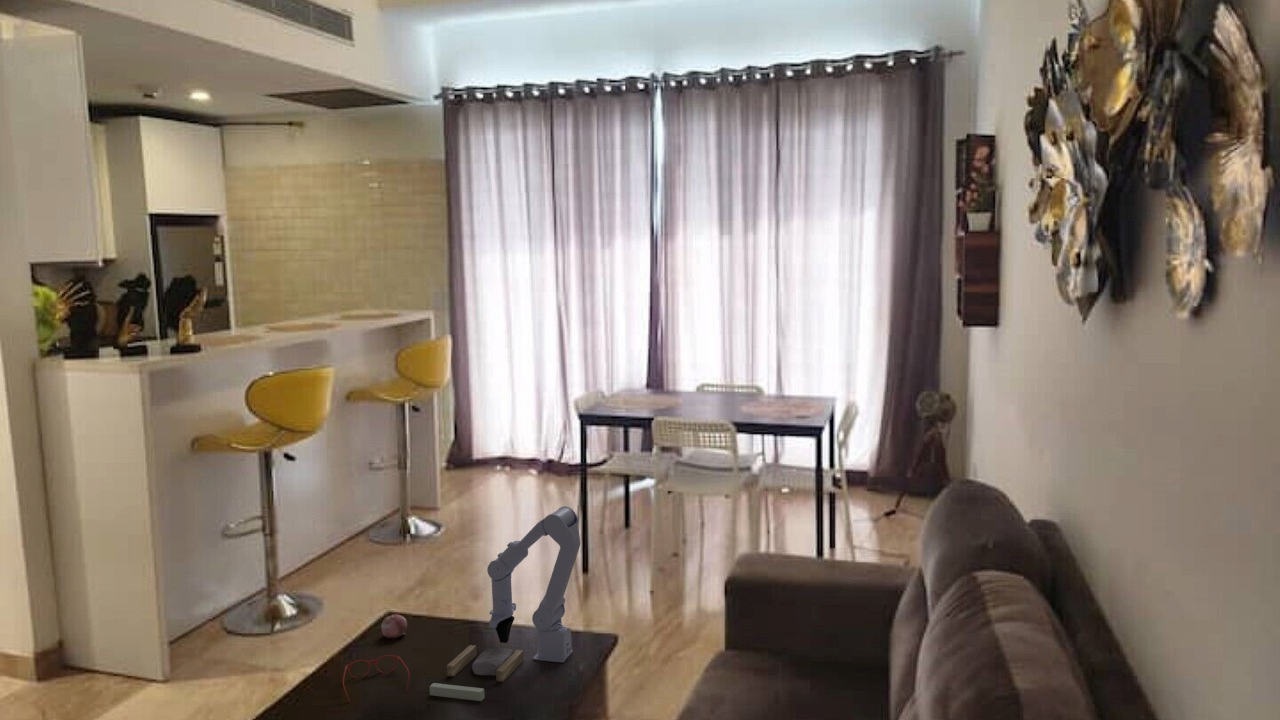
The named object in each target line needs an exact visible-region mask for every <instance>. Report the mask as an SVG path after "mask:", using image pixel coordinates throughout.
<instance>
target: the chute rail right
mask: <svg viewBox="0 0 1280 720" xmlns="http://www.w3.org/2000/svg"><path fill="white" fill-rule="evenodd" d="M524 658H525V656H524V650H523V649H516V650H514V653H513V654H512V655H511V656H510V657H509V658H508V659H507V660H506V661H505V662H504V663H503V664H502V665H501V666H500V667H499V668H498V669H497V670H496V675H495V678H496V682H500V683H501V682H502V683H504V682H505V681H506V680H507V679H508V677H509V676H510V675H511V674H512V673H513V672H514V671H515V670H516V669H517V668H518V667H519V666H520V665H521V664H522V663H523V662H524V660H525V659H524Z"/></svg>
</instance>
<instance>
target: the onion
mask: <svg viewBox="0 0 1280 720" xmlns="http://www.w3.org/2000/svg"><path fill="white" fill-rule="evenodd" d="M407 627H408V622H407V619H406V618H405V616H403V615H400V614H391V615H389V616H387V617H385V618H384V619H383V621H382V623H381V627H380V628H381V633H382V634H383V636H384V637H385V638H387V639H390V640H396V639H397V638H400V637H402V636H404V635H405V634H406V630H407Z"/></svg>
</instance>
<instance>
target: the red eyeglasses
mask: <svg viewBox="0 0 1280 720" xmlns="http://www.w3.org/2000/svg"><path fill="white" fill-rule="evenodd" d="M385 657H386V658H387V657H390V658H394V661H395V665H394V666H393V668H392V670H390V671H389V672H390V673H392V672H393V671H394V670H395V669H396V667H397V665H398V661H400V663H401V664H402V665H403V666H404V668H405V669H406V671H407V674H408V677H407V685H406V686H407V687H406V691H408V689H409V685H410V684H409V683H410V671H409V668H408V666H407V665H406V664H405V662H404V661H403V659H402V658H401V657H400V656H399V655H392V654H390V655H389V654H388V655H387V654H386V655H382V656H380V657H378V658H377V659H370V660H366V659H359V660H355V661H352V662H350V663H349V664H346V665H345V667H344V671H343V676H342V686H343V687H342V688H343V689H344V692H345V695H346V698H347V700H348V703H351V701H350V699H349V695H348V692H347V690H346V686H345V676H346V674H347V673H346V672H347V670H348V674H349V675H350V676H351V677H352V678H354V679H357V678H358V677H356V676H354V675H353V674H352V673H351V668H352V667H351V666H352V665H353V664H355V663H358V662H366V664H367V665H368V669H367V671H366V673H365V674H364V675H362V678H363V677H364V678H365V677H366V676H367V674H369V671H370V668H371V663H374V666H375V668H376V669H377V671H379V672H380V673H382V674H384V673H385V672H383V671H381V670H380V669H379V668H378V662H379V660H380V659H382V658H385Z"/></svg>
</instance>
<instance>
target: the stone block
mask: <svg viewBox="0 0 1280 720" xmlns="http://www.w3.org/2000/svg"><path fill="white" fill-rule="evenodd" d="M514 652H515V650H514V649H509V648H505V647H494V648H489V649H486V650H483V651H482V653H481V654H479V655H478V656H476V657H477V658H476V659H475V660H474V661H473V663H472V665H471V669H472V672H473V674H474V675H479V676H496V670H497V669H498V668H499V667H500V666H501V665H502V664H503V663H504V662H505V661H506V660H507V659H508V658H509V657H510V656H511V655H512V654H513V653H514Z"/></svg>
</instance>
